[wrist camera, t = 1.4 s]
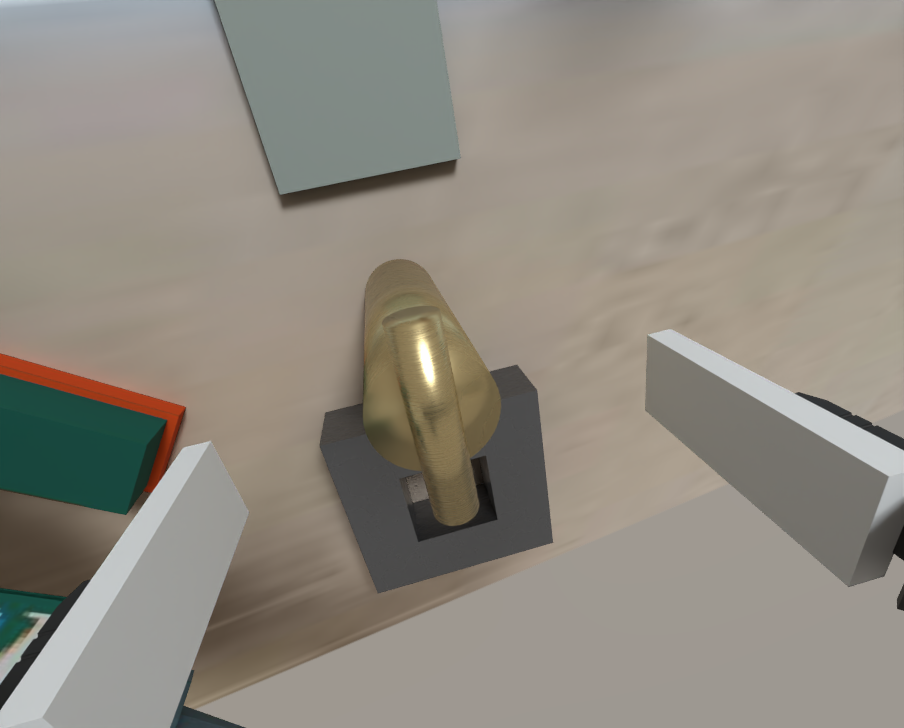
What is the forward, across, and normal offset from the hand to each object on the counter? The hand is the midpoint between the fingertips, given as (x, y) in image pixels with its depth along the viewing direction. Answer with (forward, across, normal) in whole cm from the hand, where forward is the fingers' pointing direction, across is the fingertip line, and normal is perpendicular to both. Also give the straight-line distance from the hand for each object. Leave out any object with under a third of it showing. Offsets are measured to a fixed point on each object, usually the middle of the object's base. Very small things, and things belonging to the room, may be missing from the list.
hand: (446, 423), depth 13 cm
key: (+16, 0, 0) cm, 16 cm away
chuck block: (+16, 0, -14) cm, 21 cm away
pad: (+16, 0, +12) cm, 20 cm away
